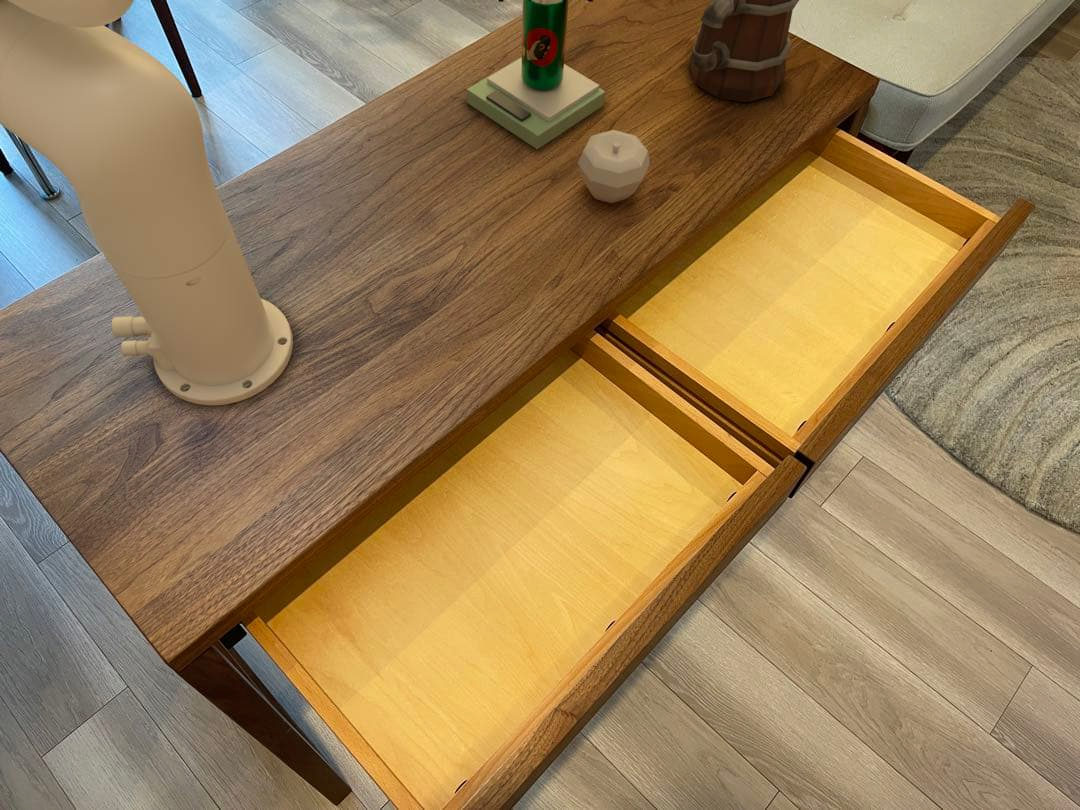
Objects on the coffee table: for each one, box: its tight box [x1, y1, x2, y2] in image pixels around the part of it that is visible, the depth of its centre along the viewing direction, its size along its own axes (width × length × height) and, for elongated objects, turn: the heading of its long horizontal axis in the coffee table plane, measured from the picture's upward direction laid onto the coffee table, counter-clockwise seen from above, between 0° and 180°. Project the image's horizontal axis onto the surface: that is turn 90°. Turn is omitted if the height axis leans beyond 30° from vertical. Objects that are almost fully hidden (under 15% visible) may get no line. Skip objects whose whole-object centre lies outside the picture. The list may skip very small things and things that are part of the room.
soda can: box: [521, 0, 569, 91], centre depth 90 cm, size 5×5×12 cm
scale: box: [466, 56, 606, 150], centre depth 96 cm, size 12×12×3 cm
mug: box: [688, 0, 800, 103], centre depth 94 cm, size 16×12×15 cm
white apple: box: [577, 129, 651, 204], centre depth 86 cm, size 8×8×7 cm
